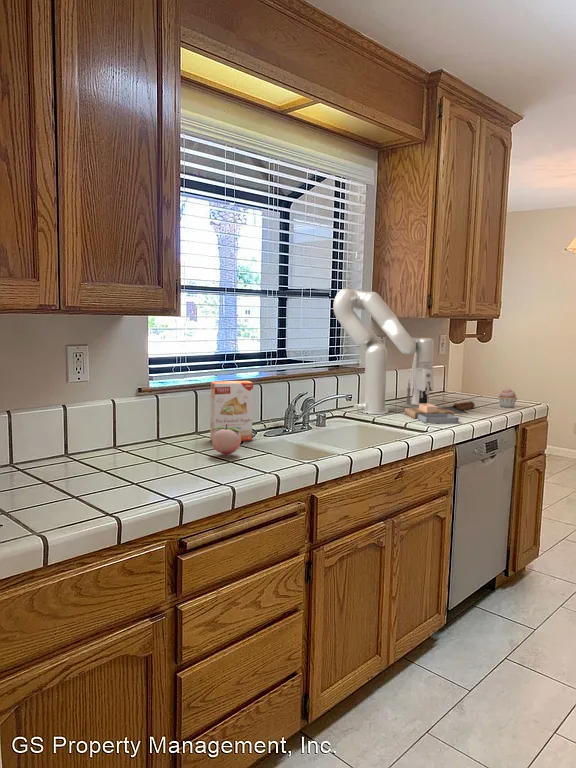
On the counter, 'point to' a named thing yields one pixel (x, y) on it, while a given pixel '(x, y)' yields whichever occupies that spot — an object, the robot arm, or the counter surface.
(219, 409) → the cracker box
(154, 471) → the counter surface
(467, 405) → the meat cleaver
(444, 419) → the tray
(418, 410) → the board
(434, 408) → the tile front
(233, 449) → the decorative fruit
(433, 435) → the counter surface
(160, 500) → the counter surface
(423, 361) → the robot arm
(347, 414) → the counter surface
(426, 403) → the tile rear
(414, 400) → the skyscraper
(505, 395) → the cupcake
